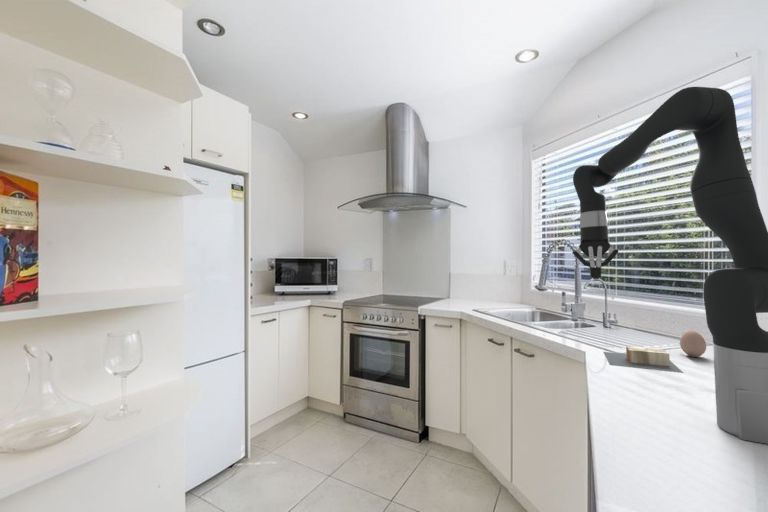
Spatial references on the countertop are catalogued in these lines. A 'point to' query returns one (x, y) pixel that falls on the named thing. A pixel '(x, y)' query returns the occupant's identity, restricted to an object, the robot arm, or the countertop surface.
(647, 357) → the birch block
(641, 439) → the countertop surface
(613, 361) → the rubber mat
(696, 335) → the egg
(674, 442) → the countertop surface
